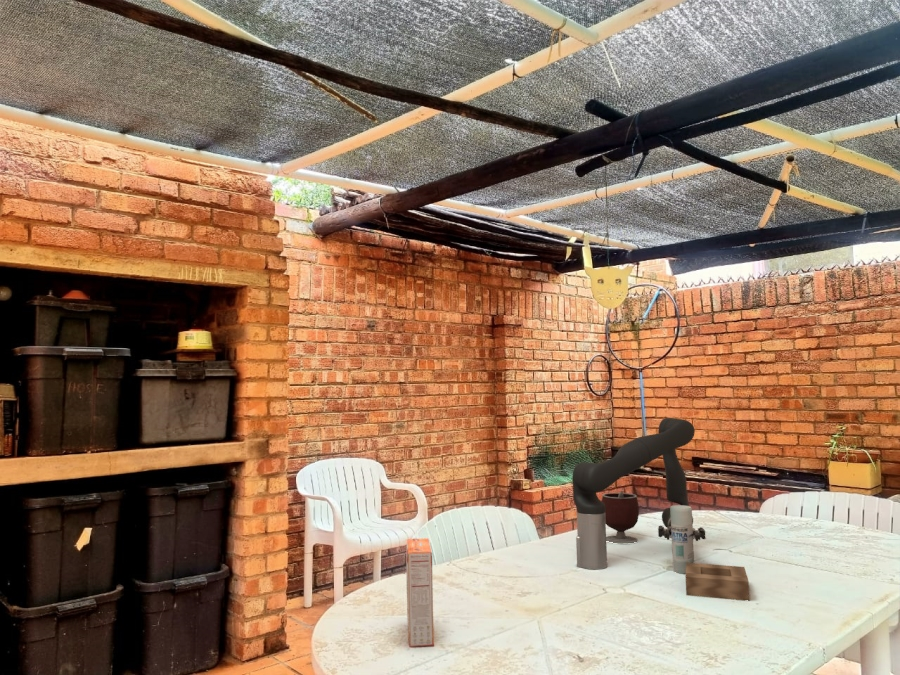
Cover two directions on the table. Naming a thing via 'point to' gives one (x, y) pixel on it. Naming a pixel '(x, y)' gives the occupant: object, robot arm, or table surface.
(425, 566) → the cracker box
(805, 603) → the table surface
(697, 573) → the walnut holder
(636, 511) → the mate gourd
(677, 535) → the spray paint can
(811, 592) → the table surface
